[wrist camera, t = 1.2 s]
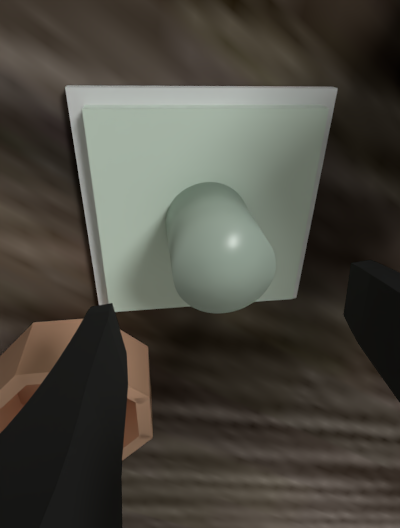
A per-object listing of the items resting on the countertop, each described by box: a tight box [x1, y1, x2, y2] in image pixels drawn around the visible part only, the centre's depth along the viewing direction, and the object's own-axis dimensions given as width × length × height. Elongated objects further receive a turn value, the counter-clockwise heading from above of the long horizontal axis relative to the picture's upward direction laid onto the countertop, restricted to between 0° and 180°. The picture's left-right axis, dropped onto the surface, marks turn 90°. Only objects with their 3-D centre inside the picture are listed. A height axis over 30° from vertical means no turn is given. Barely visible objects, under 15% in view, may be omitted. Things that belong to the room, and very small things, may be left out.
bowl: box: [0, 319, 153, 460], centre depth 20 cm, size 8×8×4 cm
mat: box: [65, 85, 338, 305], centre depth 17 cm, size 10×10×1 cm
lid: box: [82, 105, 329, 313], centre depth 15 cm, size 9×9×5 cm
